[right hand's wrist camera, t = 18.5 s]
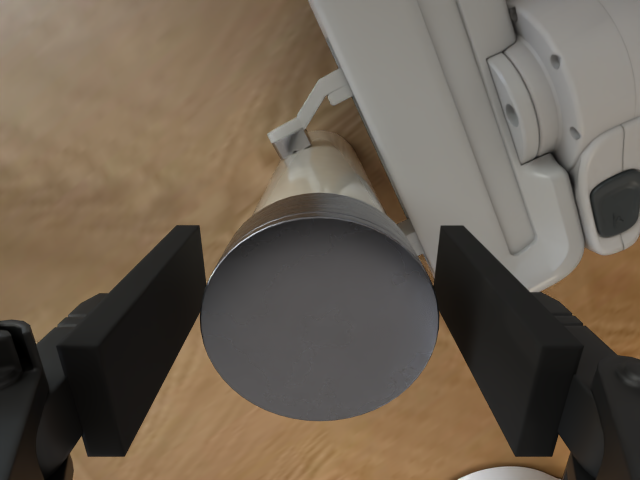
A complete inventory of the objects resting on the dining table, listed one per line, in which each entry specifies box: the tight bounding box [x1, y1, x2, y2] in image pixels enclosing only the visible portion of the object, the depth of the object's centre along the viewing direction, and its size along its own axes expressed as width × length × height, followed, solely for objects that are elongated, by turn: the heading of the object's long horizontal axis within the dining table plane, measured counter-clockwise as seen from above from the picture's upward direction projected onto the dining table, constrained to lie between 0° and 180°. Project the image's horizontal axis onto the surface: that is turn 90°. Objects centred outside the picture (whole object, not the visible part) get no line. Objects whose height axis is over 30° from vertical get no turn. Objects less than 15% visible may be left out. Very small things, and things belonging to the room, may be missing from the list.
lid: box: [200, 193, 439, 421], centre depth 11 cm, size 6×6×2 cm
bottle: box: [252, 130, 387, 216], centre depth 19 cm, size 6×6×19 cm
